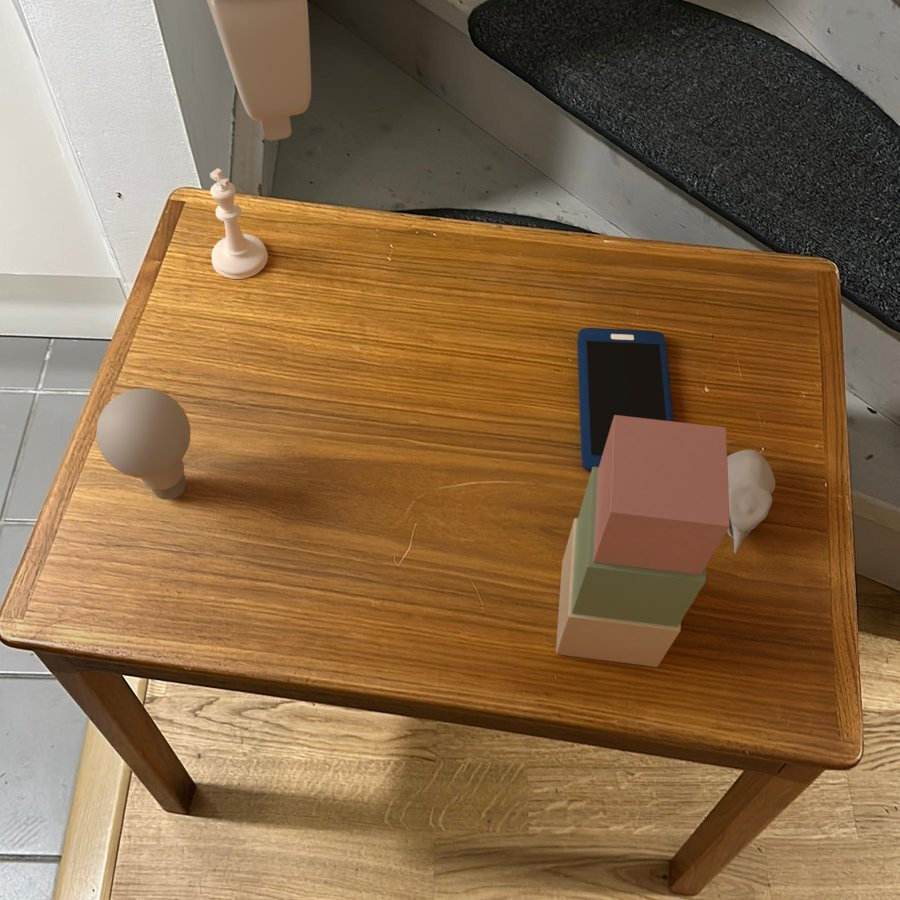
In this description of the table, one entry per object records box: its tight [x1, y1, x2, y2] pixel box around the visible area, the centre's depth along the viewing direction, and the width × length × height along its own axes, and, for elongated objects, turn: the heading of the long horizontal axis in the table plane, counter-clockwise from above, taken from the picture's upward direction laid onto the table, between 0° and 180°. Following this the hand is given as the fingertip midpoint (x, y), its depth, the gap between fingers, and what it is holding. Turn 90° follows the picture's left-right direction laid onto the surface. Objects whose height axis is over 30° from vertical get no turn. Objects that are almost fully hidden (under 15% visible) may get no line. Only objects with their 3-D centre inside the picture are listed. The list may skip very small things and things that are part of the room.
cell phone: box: [576, 327, 675, 473], centre depth 74 cm, size 7×14×1 cm, turn 177°
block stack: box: [555, 415, 730, 668], centre depth 57 cm, size 7×7×20 cm
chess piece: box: [209, 168, 269, 280], centre depth 78 cm, size 5×5×10 cm
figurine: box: [726, 449, 776, 555], centre depth 67 cm, size 4×8×5 cm, turn 165°
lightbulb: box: [95, 387, 191, 501], centre depth 65 cm, size 6×6×11 cm
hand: (263, 87), depth 62 cm, fingers open, 8 cm apart
